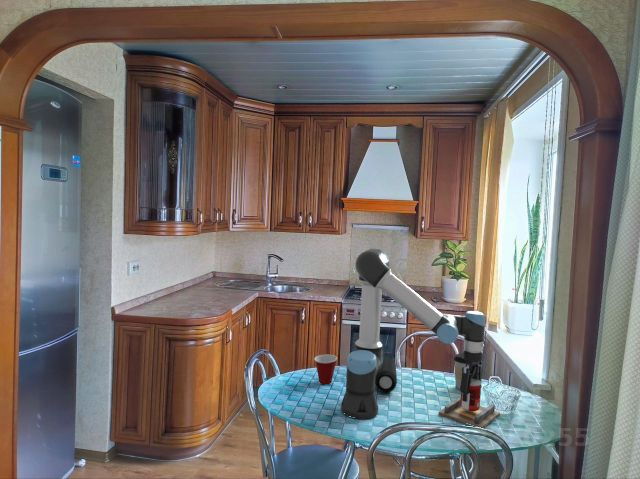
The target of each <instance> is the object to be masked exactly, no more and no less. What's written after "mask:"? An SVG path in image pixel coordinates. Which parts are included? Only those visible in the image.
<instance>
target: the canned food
mask: <svg viewBox="0 0 640 479" xmlns="http://www.w3.org/2000/svg"><path fill="white" fill-rule="evenodd" d="M469 393H470V398H469V410H468V411H477V410H479V408H480V406H481V394H482V383H481V381H480V380H476V379H473V378H472V380H471V384H470V389H469ZM459 397H460V406H461V407H462V392H460V396H459ZM465 410H466V409H465Z"/></svg>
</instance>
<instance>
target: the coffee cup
mask: <svg viewBox="0 0 640 479" xmlns="http://www.w3.org/2000/svg"><path fill="white" fill-rule="evenodd" d="M453 361H454V377H455V388H456V389H458V390H460V385H461V378H462V367H465V366H466V360H464V359H463V353H457V354H455V356H454V357H453Z"/></svg>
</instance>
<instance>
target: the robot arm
mask: <svg viewBox="0 0 640 479" xmlns="http://www.w3.org/2000/svg"><path fill="white" fill-rule="evenodd" d="M354 266H355V270H356V272H357V274H358V281H359V282H360V283H361V300H360V315H359V317H360V318H359V332H358V334H359V336H358V339H357V340H356V341H355V342H354V350H353V351H351V352H350V353H349V354H348V355H347V360H346V376H345V377H346V380H345V381H346V382H345V393H344V395H343V398H342V400H341V402H340V403H341V404H340V412H341V411H342V412H343V413H345V414H346V415H348V416H351V417H355V418H362V419H361V420H367V419H366V418H370V419H373V418H375V417H377V416H378V415H377V414H379V405H378V400H377V397H376V393H375V392H376V385H375V378H376V374H377V372H378V371H379V369H380V368H381V366H382V364H383V357H384V353H383V343H382V342H381V340H380V331H381V328H380V327H381V316H382V315H381V314H382V298H383V295H382V294H383V292H384V293H385V294H386V295H387V296H388V297H390V298H391V299H392V300H393V301H395V303H397V304H398V305H399V306H401V308H403V309H404V310H405V311H407V312H408V313H409V314H410V315H412V316H413V317H414V318H415V319H417V321H419V322H420V323H421V324H423V325H424V326H426V327H427V328H428V329H429V330H430V331H431V332H433V334H435V335H436V336H437V339H438V341H440V342H442V344H445V345H448V344H450V345H451V344H453V343H454V342H456V341H457V339H458V337H459V335H460V336H461V335H463V336H464V337H463V338H464V339H463V346H462V347H463V352H462V354H463V359H464V360H466V366H465V367H462V378H461V385H460V389H459V393H461V392H462V408H463V409H466V410H469V398H470V393H469V389H470V384H471V380H472V378H473V379H476V380H480V381H481V384H482V378H483V377H482V375H483V374H482V366H483V365H482V364H483V359H484V358H483V357H484V353H483V351H484V348H485V344H484V343H485V342H484V341H485V330H486V329H485V328H486V316H485V314H484V313H483V312H480V311H476V310H469V311H466V312H465V314H464V315H457V314H448V313H442V312H440V311H439V310H438V309H436V308H435V306H433V305H431V303H429V302H428V301H426V299H424V298H423V297H421V296H420V295H419V294H418V293H417V292H415V290H413V289H412V288H411V287H410V286H408V285H407V284H406V283H404V282H403V281H402V280H400V278H398V277H397V276H395V274H393V273H392V269H391V268H390V267H389V266H390V260H389V256H388V255H387V254H386V253H385V251H383V250H381V249H379V248H369V249H367V250H365V251H362V252H361V253H360V254H359V255H357V257H356V260H355V265H354ZM342 412H341V413H342ZM343 413H342V414H343ZM346 415H345V416H346ZM376 415H377V416H376ZM348 416H347V417H348ZM351 417H350V418H351ZM372 417H373V418H372ZM355 418H354V419H355Z"/></svg>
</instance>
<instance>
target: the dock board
mask: <svg viewBox="0 0 640 479" xmlns="http://www.w3.org/2000/svg"><path fill="white" fill-rule="evenodd" d="M460 397H461V396H459V397H457V398H455V399H454V400H453V401H451V402H449V403H448V404H446V405H444V407H443V408H442V409H441V410H439V411H438V416H442V417H444V418H447V419H450V420H453V421H456V422H458V421H459V423H461V422H463V423H462V424H464V423H468V424H471V425H474V426H478V427H481V428H483V429H485V428H486V427H487V426H488V425H490V424H491V423H492V422H494V421H495V420H496V419H498V418H499V417H500V416H501V412H500V411H498V410H495V408H496V406H495V405H494V404H490V405H488V406H487V407H484V406H481V405H480V408H479V410H477V411H468V410H465V409H463V408H462V407H461V406H460ZM499 415H500V416H499ZM495 418H496V419H495ZM494 419H495V420H494ZM491 421H492V422H491ZM490 422H491V423H490ZM489 423H490V424H489ZM485 426H486V427H485Z"/></svg>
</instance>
